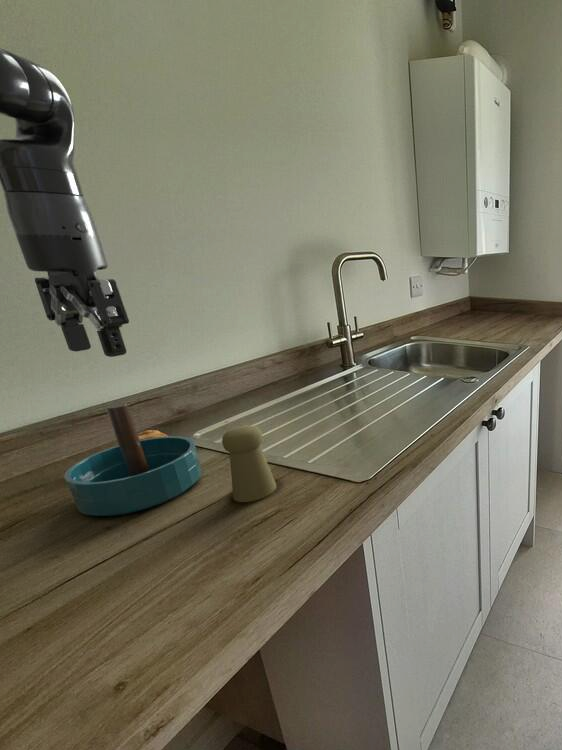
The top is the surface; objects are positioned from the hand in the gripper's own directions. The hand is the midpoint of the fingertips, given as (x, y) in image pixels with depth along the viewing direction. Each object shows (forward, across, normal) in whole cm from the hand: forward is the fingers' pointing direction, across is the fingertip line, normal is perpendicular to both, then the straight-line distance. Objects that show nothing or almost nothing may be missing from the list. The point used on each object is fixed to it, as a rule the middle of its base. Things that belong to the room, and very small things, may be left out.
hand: (98, 352), depth 59 cm
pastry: (+23, -13, +8) cm, 28 cm away
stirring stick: (+22, 0, 0) cm, 22 cm away
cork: (+23, +17, +6) cm, 29 cm away
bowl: (+23, 0, 0) cm, 23 cm away
